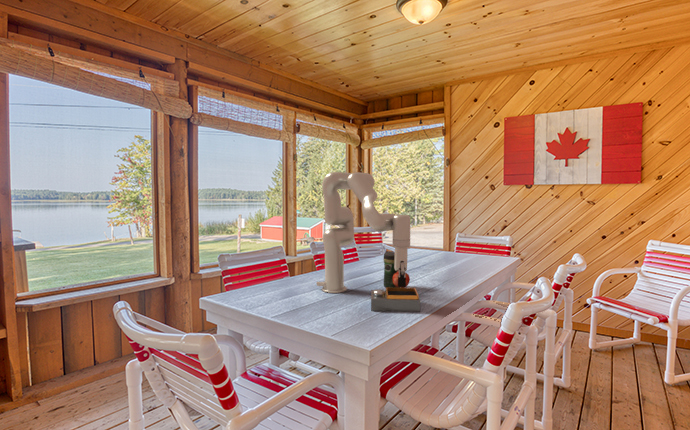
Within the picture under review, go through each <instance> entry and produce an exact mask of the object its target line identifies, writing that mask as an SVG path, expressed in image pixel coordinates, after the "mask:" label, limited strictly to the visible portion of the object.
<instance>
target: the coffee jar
mask: <svg viewBox="0 0 690 430" xmlns="http://www.w3.org/2000/svg"><path fill="white" fill-rule="evenodd" d="M394 255H395V251H387V252H384V254H383V260H382V261H383V264H384V267H383V268H384V270H383V271H384V273H383V286H384V287H385V288H386V287H389V288H399V287H396V286H395V285H394V284H393V275H394V274H395V273H397V271H395V268H394Z"/></svg>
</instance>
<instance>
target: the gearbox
mask: <svg viewBox="0 0 690 430" xmlns="http://www.w3.org/2000/svg"><path fill="white" fill-rule="evenodd" d="M370 293H371V294H370V311H371V312H403V313H406V312H408V313H409V312H410V313H412V312H413V313H420V312H421V299H420V296H419V293H418V291H417V289H416V287H405V288H389V287H385V290H384V289H371V292H370Z"/></svg>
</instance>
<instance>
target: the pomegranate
mask: <svg viewBox="0 0 690 430" xmlns="http://www.w3.org/2000/svg"><path fill="white" fill-rule="evenodd" d="M398 277H399V272H397V273H395V274H394V275H393V284H394V285H395V286H396V287H398ZM405 277H406V287H408V286H409V283H410V281H411V278H410V275H409V274H408V273H406V272H405ZM406 287H399V288H406Z"/></svg>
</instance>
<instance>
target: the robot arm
mask: <svg viewBox="0 0 690 430" xmlns="http://www.w3.org/2000/svg"><path fill="white" fill-rule="evenodd" d="M375 182H376V181H375V178H374V176H373V175H372V174H370V173H368V172H360V171H359V172H358V171H357V172H344V171H343V172H342V171H341V172H340V171H332V172H329V173H327V174H326V175H325V176H324V178H323V180H322V186H321V187H322V188H321V190H322V193H323V194H322V195H323V202H324V203H323V206H324V208H323V209H324V221H325V224H327V226H328V225H329V226H330V227H331V226H332V227H333V226H339V227H335V228H329V229H327V230H325V231H324V232H323V234H322V242H323V248H324V249H323V250H324V281H316V286H318V287H322V288H321V290H322V292H324V293H327V292H328V293H329V294H339V293H340V294H341V293H344V292H346V291H347V290H348V286H345V283H344V282H345V277H344V275H345V272H344V270H345V269H344V265H345V264H344V260H345V259H344V257H345V256H344V252H343V250H342V248H341V247H344V246H350V245H351V244H353V242H354V239H355V225H354V224H355V223H354V222H355V220H354V213H353V211H352V210H351V209H350V208H349V207H347V206H342V198H341V195H340V194H339V193H340V192H338V190H347V191H348V190H351V191H352V192H353V194H354V195H355V196H356V198H357V199H358V201H359V202H360V203H361V211H362V212H361V213H362V216H363V218H364V220H365V222H367V224H368V225H369V227H370V228H371V229H373V231H375V232H379V233H381V232H387V231H389V232H390V231H392V248H394V252H395V255H394V268H395V271H397V272H399V277H398V287H405V288H407V286H406V277H405V273H406V271H408V249H410V248H411V216H410V215H408V214H394V213H380V212H379V211H378V209H377V208H376V207H375V205H374V203H375V202H376V200H377V199H378V192H377V191H376V190H375V189H374V186H375Z"/></svg>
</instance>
